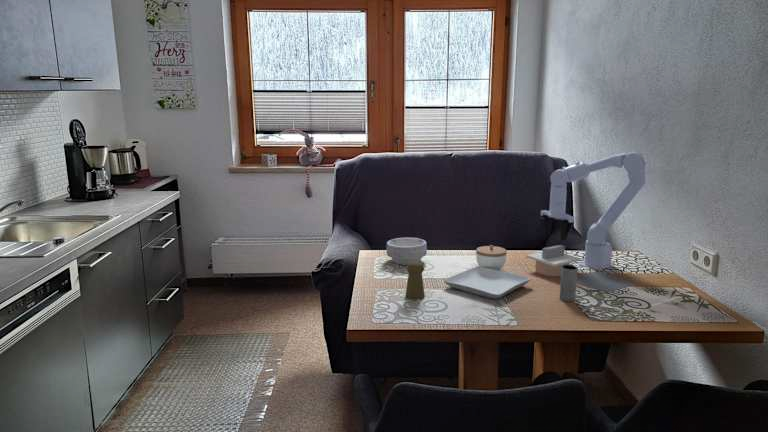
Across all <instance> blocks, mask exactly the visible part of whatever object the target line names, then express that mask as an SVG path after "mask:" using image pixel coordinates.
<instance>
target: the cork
mask: <svg viewBox="0 0 768 432" xmlns="http://www.w3.org/2000/svg"><path fill="white" fill-rule="evenodd" d="M424 267H425V266H424V264H423V263H422V262H421V261H420V262H410V263H409V264H408V265H406V271H407V273H408V274H407V275H408V277H407V284H406V288H405V289H406V291H405V295H404V296H405V298H406V299H408V300H412V301H418V300H423V299H424V298H425V289H424V288H425V287H424V281H423V280H424V279H423V272H424Z"/></svg>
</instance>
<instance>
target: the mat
mask: <svg viewBox="0 0 768 432" xmlns="http://www.w3.org/2000/svg"><path fill="white" fill-rule="evenodd" d="M576 284H581V285H583V286H586V287H588V288H591V289H594V290H596V291H600V292H603V293H609V292H613V291H617V290H621V289H624V288H628V287H632V286H635V285H636V286H637V283H636V282H632V281H629V280H627V279H626V280H625V279H623V278H620V277H616V276H614V275H611V274H606V273H604V272H602V271H599V270H595V271H592V272H588V273H584V274H580V275H579V274H578V275H577V282H576Z"/></svg>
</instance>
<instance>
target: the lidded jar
mask: <svg viewBox="0 0 768 432" xmlns="http://www.w3.org/2000/svg"><path fill="white" fill-rule="evenodd" d="M475 253H476V254H475V255H476V263H477V265H478V266H480V267H485V268H489V269H494V270H499V271H502V269H503V267H504V266H505V264H506V260H507V249H506V248H504V247H501V246H494V245H492V244H490V245H483V246H479V247H477V248H476V249H475Z"/></svg>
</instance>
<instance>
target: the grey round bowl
mask: <svg viewBox="0 0 768 432" xmlns="http://www.w3.org/2000/svg"><path fill="white" fill-rule="evenodd" d="M427 245H428V244H427V241H426V240H424V239H422V238H418V237H397V238H396V237H395V238H392V239H390V240H388V241H387V242H386V256H388V258H391V260H392V261H393V262H394V264H397V265H403V266H407V265H408V264H409V263H410V262H420V263H421V260H422V258H423V257H425V256H426V255H427V252H428V251H427V250H428V249H427V248H428V247H427Z"/></svg>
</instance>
